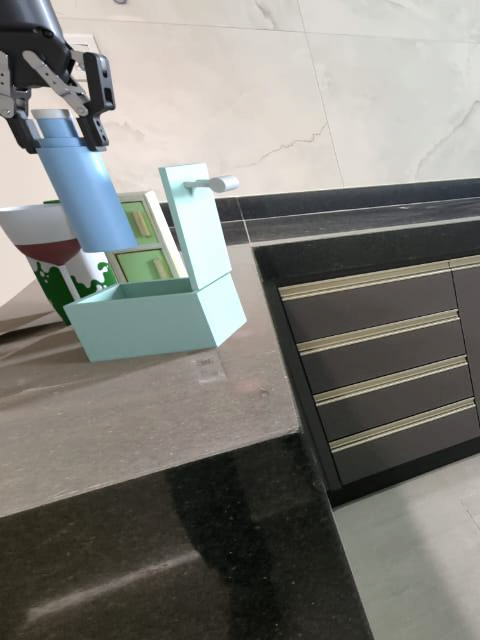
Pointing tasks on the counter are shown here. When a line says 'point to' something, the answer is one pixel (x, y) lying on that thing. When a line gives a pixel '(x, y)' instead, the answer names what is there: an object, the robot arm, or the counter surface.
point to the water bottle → (82, 184)
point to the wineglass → (42, 235)
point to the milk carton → (73, 277)
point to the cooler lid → (198, 219)
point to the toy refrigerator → (146, 243)
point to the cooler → (155, 317)
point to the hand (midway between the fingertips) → (69, 151)
